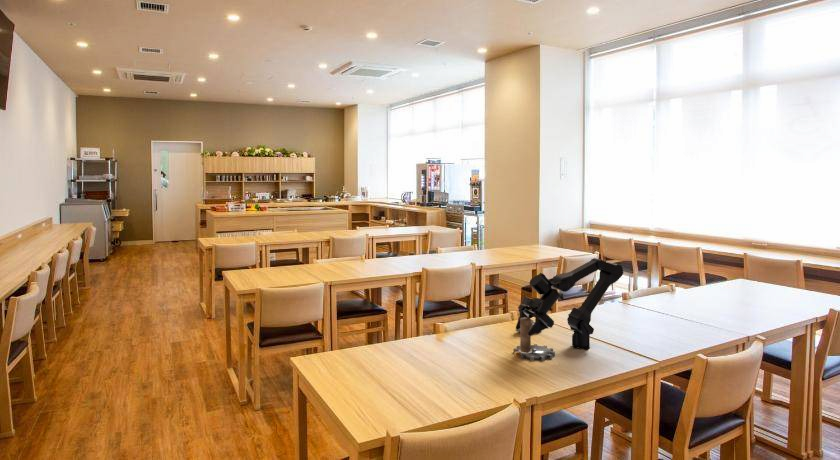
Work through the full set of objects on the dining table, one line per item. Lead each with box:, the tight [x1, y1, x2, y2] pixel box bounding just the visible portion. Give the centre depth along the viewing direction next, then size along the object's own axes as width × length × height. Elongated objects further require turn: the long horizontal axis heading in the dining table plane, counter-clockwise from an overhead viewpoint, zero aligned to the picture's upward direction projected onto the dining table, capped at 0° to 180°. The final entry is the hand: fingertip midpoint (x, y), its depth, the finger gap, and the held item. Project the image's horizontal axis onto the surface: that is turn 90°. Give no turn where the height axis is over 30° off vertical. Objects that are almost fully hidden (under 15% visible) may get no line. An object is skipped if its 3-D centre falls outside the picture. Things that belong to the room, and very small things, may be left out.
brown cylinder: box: [519, 317, 532, 352], centre depth 210 cm, size 4×4×13 cm
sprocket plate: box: [513, 343, 556, 362], centre depth 211 cm, size 16×16×2 cm
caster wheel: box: [515, 317, 535, 333], centre depth 242 cm, size 7×11×10 cm
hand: (522, 331), depth 209 cm, fingers open, 9 cm apart
